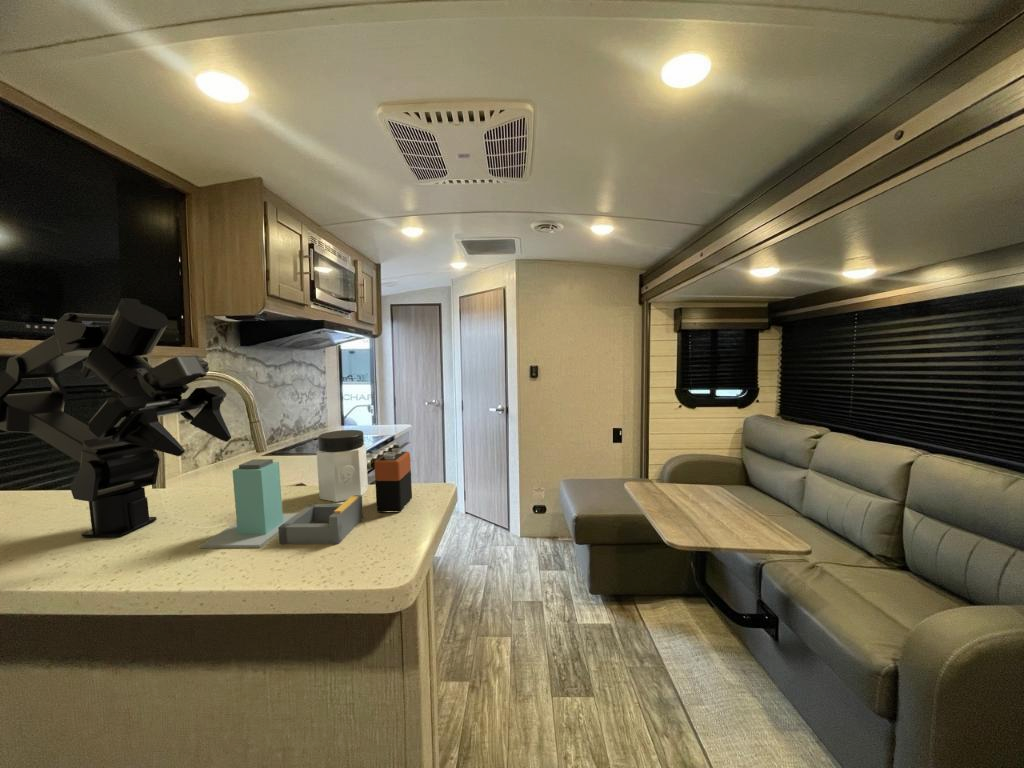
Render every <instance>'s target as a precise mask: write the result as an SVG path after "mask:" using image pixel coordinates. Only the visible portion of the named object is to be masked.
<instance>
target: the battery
mask: <svg viewBox="0 0 1024 768" xmlns="http://www.w3.org/2000/svg"><path fill="white" fill-rule="evenodd" d="M411 464H412V463H411V453H410V452H409V451H401V448H399V447H398V448H397V447H396V448H392V449H391V451H387V452H384V453H383V455H382V456H380V457H379V458H377V459H376V460H375V461H374V463H373V465H374V480H375V481H374V482H375V501H376V511H377V512H378V511H400V512H401V511H402V510H403V509H404V508H405V507H406V506H407V504H409V502H410V501H411V500H412V499H413V494H412V493H413V489H412V487H413V486H412V467H411ZM410 499H411V500H410ZM405 505H406V506H405ZM404 506H405V507H404Z"/></svg>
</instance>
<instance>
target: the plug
mask: <svg viewBox="0 0 1024 768" xmlns="http://www.w3.org/2000/svg"><path fill="white" fill-rule="evenodd" d="M280 473H281V471H280V461H273V459H272V458H264V459H263V458H261V459H257V458H256V459H251V460H248V461H246V462H243V463H241V464H238V467H237V468H234V469H232V482H233V493H234V507H235V508H234V509H235V518H236V520H235V521H236V523H237V532H238V535H266V534H267V533H269V532H270V531H272V530H273V529H274V528H276V527H277V526H279V525H280V524H281V523H283V514H284V513H283V512H284V511H283V499H282V485H281V474H280Z"/></svg>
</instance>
